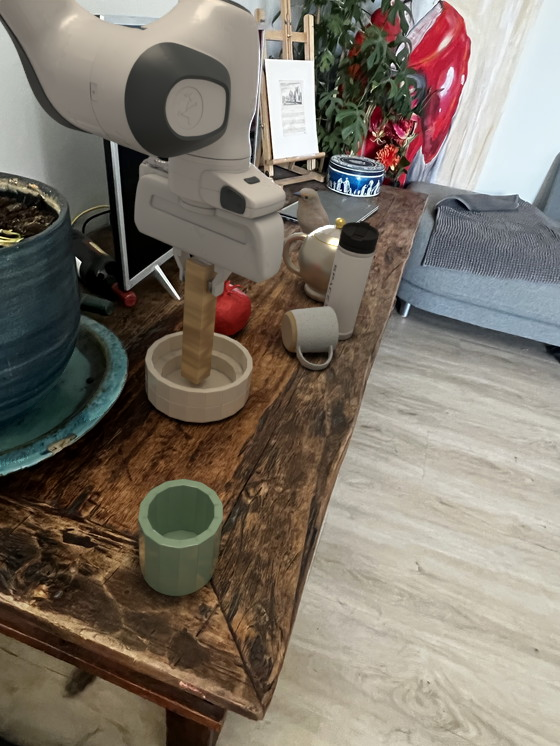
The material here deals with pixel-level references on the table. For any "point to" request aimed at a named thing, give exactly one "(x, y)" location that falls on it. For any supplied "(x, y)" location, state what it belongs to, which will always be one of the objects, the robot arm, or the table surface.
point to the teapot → (315, 258)
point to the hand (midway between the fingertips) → (201, 287)
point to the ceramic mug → (310, 333)
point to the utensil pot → (179, 536)
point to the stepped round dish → (209, 396)
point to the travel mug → (350, 273)
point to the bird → (310, 211)
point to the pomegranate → (231, 310)
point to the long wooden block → (198, 320)
